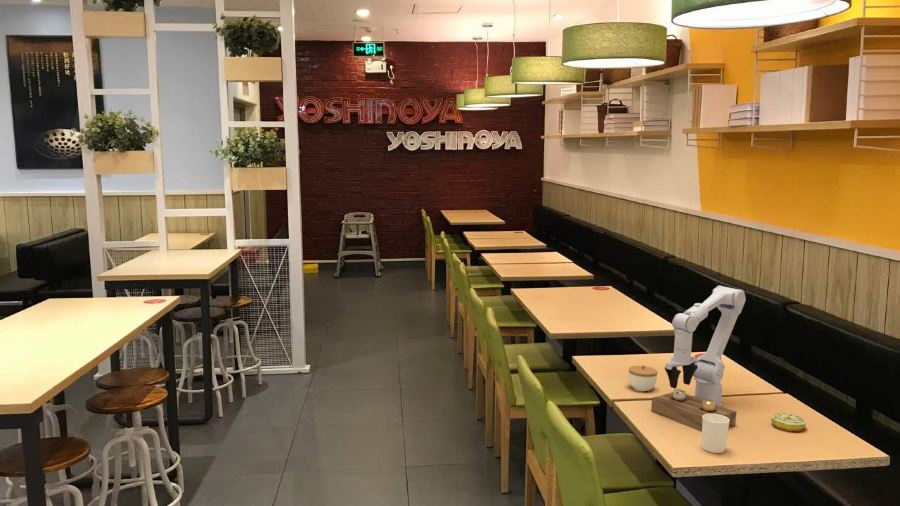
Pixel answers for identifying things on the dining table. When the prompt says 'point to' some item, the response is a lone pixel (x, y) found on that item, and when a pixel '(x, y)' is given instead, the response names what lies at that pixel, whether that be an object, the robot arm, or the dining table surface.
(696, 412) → the walnut block
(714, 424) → the white cup
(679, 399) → the silver ball
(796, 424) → the yellow green round disc
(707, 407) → the gold ball
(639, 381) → the lidded jar
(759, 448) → the dining table surface
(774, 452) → the dining table surface
